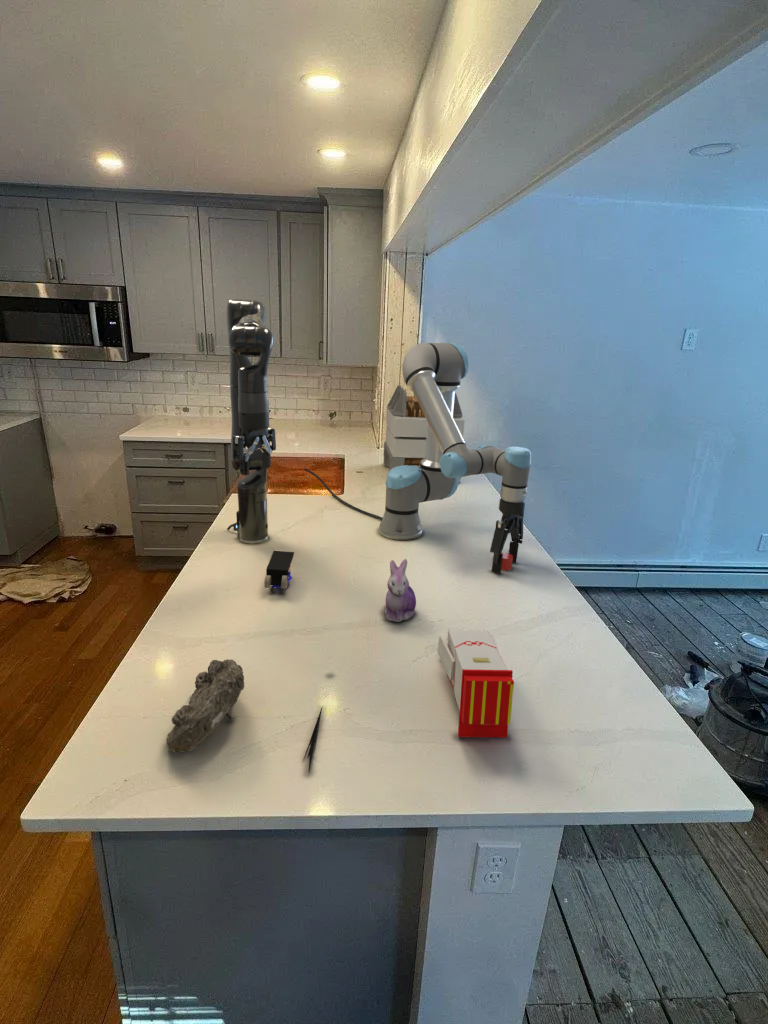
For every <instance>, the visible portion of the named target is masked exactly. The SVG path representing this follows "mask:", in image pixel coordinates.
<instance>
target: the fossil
mask: <svg viewBox="0 0 768 1024" xmlns="http://www.w3.org/2000/svg"><path fill="white" fill-rule="evenodd" d="M243 670H244V669H243V667H242V665H240V664H237V662H236V661H235V660H234V659H232V658H231V659H227V658H226V659H224V660H223V661H222V660H217V659H212V660H211V661H210V663H209V665H208V666H207V671H201V672H199V673H198V674H197V675H196V676H195V680H194V684H195V685H194V687H195V689H194V690H193V693H192V694H191V697H190V698H189V700H188V704H184V705H182V706H181V707H180V709H177V710H176V711H175V713H174V715H173V716H172V718H171V723H172V724H173V727H172V730H171V731H170V732H168V734H167V738H166V741H167V742H166V745H167V749H168V750H169V751H173V752H174V753H176V754H178V753H182V752H188V751H189V752H192V751H193V750H195V748H196V747H197V746H199V744H200V743H201V742H203V741H204V740H205V739H206V738H207V737H208V736H209V735H210V734H211V733H212V732H214V730H215V729H217V727H218V726H219V724H220V722H221V721H222V720H223V719H224V718H225V716H226V717H227V719H229V720H233V717H232V715H230V714H229V710H230V709H231V708H234V706H235V704H236V703H237V702H238V699H239V697H240V695H241V693H242V691H243V690H245V689H244V688H245V675H244V671H243Z"/></svg>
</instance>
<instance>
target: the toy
mask: <svg viewBox="0 0 768 1024" xmlns="http://www.w3.org/2000/svg"><path fill="white" fill-rule="evenodd" d="M446 640H447V643H446V641H445V639H444V636H443V635H442V634H439V637H438V646H437V656H438V657H439V659H440V661H441V663H442V666H443V668H444V670H445V672H446V674H447V677H448V679H449V681H450V684H451V687H452V690H453V693H454V697H455V701H456V705H457V708H458V711H459V714H458V715H459V716H458V730H457V731H458V732H457V737H458V738H508V731H509V726H510V725H511V717H512V707H513V697H514V696H513V695H514V684H515V680H514V679H513V673H514V671H513V670H512V669H508V667H507V665H506V662H505V661H504V659H503V658H502V655H501V653H500V651H499V649H498V647H497V643H496V639H495V637H494V635H493V634H491V632H490V631H489V629H467V628H466V629H465V628H463V629H461V628H460V629H459V628H448V630H447V639H446Z"/></svg>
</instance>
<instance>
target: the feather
mask: <svg viewBox="0 0 768 1024" xmlns="http://www.w3.org/2000/svg"><path fill="white" fill-rule="evenodd" d="M329 675H330V676H331V675H332V674H331V673H330V674H329ZM322 710H323V707H321V708H320V710H319V713H318V716H317V719H316V723H315V725H314V728H313V731H312V733H311V737H310V739H309V742H308V745H307V748H306V751H305V754H304V757H303V760H302V763H301V767H302V765H303V763H304V761H305V758H308V759H309V760H308V762H307V763H308V764H307V766H308V771H310V770H311V766H312V765H311V764H312V760H313V757H315V756H314V755H315V751H316V749H315V746H317V739H318V733H319V729H320V722H321V717H322V712H323V711H322ZM313 754H314V755H313ZM306 755H307V757H306Z"/></svg>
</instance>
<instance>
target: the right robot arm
mask: <svg viewBox="0 0 768 1024" xmlns="http://www.w3.org/2000/svg"><path fill="white" fill-rule="evenodd" d="M469 370H470V357H469V355H468V352H467V351H466V349H465V348H464V347H463V346H462V345H461V344H458V343H452V342H420V343H417V344H415V345H413V346H412V347H411V348H409V349H408V351H407V352H406V353H405V355H404V357H403V361H402V367H401V372H402V377H403V380H404V383H405V385H406V387H407V389H408V390H409V391H412V392H413V395H414V396H415V397H416V399H417V401H418V403H419V405H420V407H421V409H422V411H423V413H424V415H425V418H426V420H427V435H426V449H425V458H424V459H423V460H421V461H420V466H412V465H408V466H407V465H403V466H398V467H395V468H392V469H391V470H390V469H389V470H388V472H387V475H386V479H385V504H384V505H385V507H384V508H385V509H384V513H383V515H382V516H380V515H377V514H374V513H371V512H369V511H365V510H363V509H361V508H359V507H356V506H355V505H352V504H350V503H348V502H347V501H345V500H343V499H342V498H340V496H338V495H336V494H335V493H334V492H333V491H332V490H331V488H329V486H328V485H327V484H326V482H325V481H324V480H323V479H322V478H321V477H320V476H319V475H318V474H316V473H315V472H314V471H312V470H310V469H308V468H305V467H304V468H303V470H304V471H305V472H307V473H309V474H311V475H312V476H314V477H315V478H316V479H317V480H319V482H320V483H321V484H322V485H323V486H324V487H325V489H326V490H327V491H328V492H329V493H330V495H332V496H333V497H334V498H335V499H336V500H338V502H340V503H342V504H343V505H345V506H347V507H349V508H351V509H353V510H355V511H357V512H359V513H362V514H364V515H367V516H369V517H372V518H375V519H378V520H381V522H379V526H378V533H379V534H380V535H381V536H382V537H385V538H387V539H389V540H395V541H410V540H415V539H418V538H420V537H421V536H422V535H423V525H422V524H421V518H420V515H419V507H420V506H419V505H420V503H426V502H432V501H441V500H444V499H447V498H450V497H452V496H453V495H454V494H455V493H456V491H457V489H458V486H459V483H460V482H459V478H460V479H461V478H463V477H467V476H468V477H469V476H477V475H485V474H495V475H497V476H499V477H500V476H501V486H500V493H499V497H500V498H499V503H498V510H499V512H500V513H501V514H502V516H501V518H500V520H496V521H495V528H494V531H493V536H492V540H491V545H490V549H489V553H491V554H493V556H492V564H491V572H493V573H496V574H501V573H502V570H501V566H502V558H503V553H504V552H503V550H504V547H505V544H506V543H507V539H508V536H509V535H510V540H511V541H510V542H509V546H508V547H509V548H508V553H509V554H511V555H513V561H512V564H517V560H518V554H519V547H520V546H519V544H523V538H524V515H525V507H526V501H525V500H526V498H527V495H528V491H527V490H528V482H529V477H530V476H529V475H530V470H531V466H532V452H531V450H530V449H529V448H526V447H521V446H508V447H507V448H506V449H505V450H504V449H501V448H498V447H497V446H493V445H488V444H483V445H480V446H478V447H477V448H476V449H469V447H468V446H467V444H466V442H465V440H464V437H463V438H462V436H461V434H460V431H459V429H458V427H457V425H456V423H455V421H454V419H453V409H454V398H455V393H456V391H457V389H459V388H460V387H461V380H463V379H464V378H466V377H467V374H469ZM458 482H459V483H458Z"/></svg>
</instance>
